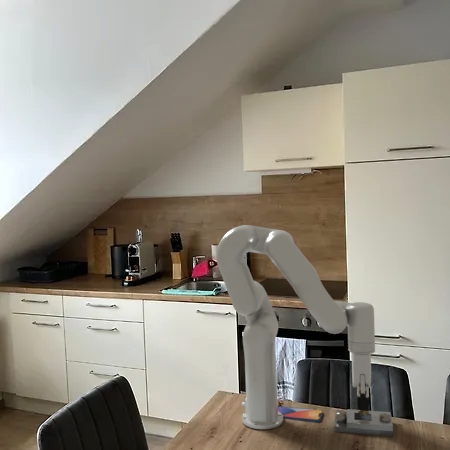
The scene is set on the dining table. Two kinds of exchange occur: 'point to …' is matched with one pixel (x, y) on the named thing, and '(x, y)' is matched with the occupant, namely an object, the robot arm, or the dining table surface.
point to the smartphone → (301, 414)
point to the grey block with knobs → (364, 422)
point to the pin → (363, 411)
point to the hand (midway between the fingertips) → (363, 406)
